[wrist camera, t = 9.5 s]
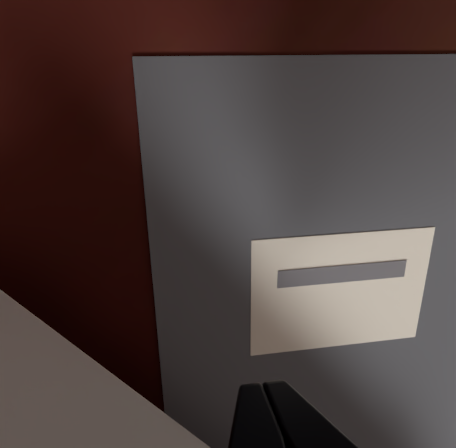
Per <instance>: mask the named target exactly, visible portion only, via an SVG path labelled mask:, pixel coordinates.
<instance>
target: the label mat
mask: <svg viewBox="0 0 456 448" xmlns="http://www.w3.org/2000/svg"><path fill="white" fill-rule="evenodd" d="M132 60H133V71H134V82H135V93H136V104H137V115H138V126H139V137H140V148H141V159H142V170H143V181H144V192H145V203H146V214H147V225H148V235H149V246H150V257H151V268H152V279H153V290H154V301H155V312H156V323H157V334H158V345H159V356H160V367H161V378H162V389H163V400H164V411H165V414H167V415H168V416H169V417H171V418H172V419H173V420H174V421H176V422H177V423H178V424H180V425H181V426H182V427H184V428H185V429H186V430H188V431H189V432H190V433H192V434H193V435H194V436H196V437H197V438H198V439H200V440H201V441H202V442H204V443H205V444H206V445H208V446H209V447H210V448H228V444H229V438H230V433H231V428H232V422H233V417H234V412H235V406H236V401H237V396H238V390H239V387H240V385H242V384H249V383H257V382H258V383H261V384H263V383H264V382H266V381H273V380H285V381H286V382H288V383H289V384H290V385H291V386H292V387H293V388H294V389H295V390H296V391H297V392H298V393H300V394H301V395H302V396H303V397H304V398H305V399H306V400H307V401H308V402H309V403H311V404H312V405H313V406H314V407H315V408H316V409H317V410H318V411H319V412H320V413H321V414H323V415H324V416H325V417H326V418H327V419H328V420H329V421H330V422H331V423H332V424H334V425H335V426H336V427H337V428H338V429H339V430H340V431H341V432H342V433H343V434H344V435H346V436H347V437H348V438H349V439H350V440H351V441H352V442H353V443H354V444H355V445H356V446H358V447H359V448H456V54H393V55H260V56H132Z"/></svg>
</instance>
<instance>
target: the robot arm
mask: <svg viewBox="0 0 456 448" xmlns="http://www.w3.org/2000/svg"><path fill="white" fill-rule="evenodd" d="M228 448H359V447H358V446H356V445H355V444H354V443H353V442H352V441H351V440H350V439H349V438H348V437H347V436H346V435H344V434H343V433H342V432H341V431H340V430H339V429H338V428H337V427H336V426H335V425H334V424H332V423H331V422H330V421H329V420H328V419H327V418H326V417H325V416H324V415H323V414H321V413H320V412H319V411H318V410H317V409H316V408H315V407H314V406H313V405H312V404H311V403H309V402H308V401H307V400H306V399H305V398H304V397H303V396H302V395H301V394H300V393H298V392H297V391H296V390H295V389H294V388H293V387H292V386H291V385H290V384H289V383H288V382H286V381H285V380H273V381H266V382H264V383H263V384H261V383H258V382H257V383H249V384H242V385H240V387H239V390H238V396H237V401H236V406H235V412H234V417H233V422H232V428H231V433H230V438H229V444H228Z"/></svg>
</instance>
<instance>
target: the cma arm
mask: <svg viewBox="0 0 456 448" xmlns="http://www.w3.org/2000/svg"><path fill="white" fill-rule="evenodd" d="M0 448H210V447H209V446H208V445H206V444H205V443H204V442H202V441H201V440H200V439H198V438H197V437H196V436H194V435H193V434H192V433H190V432H189V431H188V430H186V429H185V428H184V427H182V426H181V425H180V424H178V423H177V422H176V421H174V420H173V419H172V418H171V417H169V416H168V415H167V414H165V413H164V412H163V411H161V410H160V409H159V408H157V407H156V406H155V405H153V404H152V403H151V402H149V401H148V400H147V399H145V398H144V397H143V396H141V395H140V394H139V393H137V392H136V391H135V390H133V389H132V388H131V387H129V386H128V385H127V384H125V383H124V382H123V381H121V380H120V379H119V378H117V377H116V376H115V375H113V374H112V373H111V372H109V371H108V370H107V369H105V368H104V367H103V366H101V365H100V364H99V363H97V362H96V361H95V360H93V359H92V358H91V357H89V356H88V355H87V354H85V353H84V352H83V351H81V350H80V349H79V348H77V347H76V346H75V345H73V344H72V343H71V342H69V341H68V340H67V339H65V338H64V337H63V336H61V335H60V334H59V333H57V332H56V331H55V330H53V329H52V328H51V327H49V326H48V325H47V324H45V323H44V322H43V321H41V320H40V319H39V318H37V317H36V316H35V315H33V314H32V313H31V312H30V311H28V310H27V309H26V308H24V307H23V306H22V305H20V304H19V303H18V302H16V301H15V300H14V299H12V298H11V297H10V296H8V295H7V294H6V293H4V292H3V291H2V290H0Z"/></svg>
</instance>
